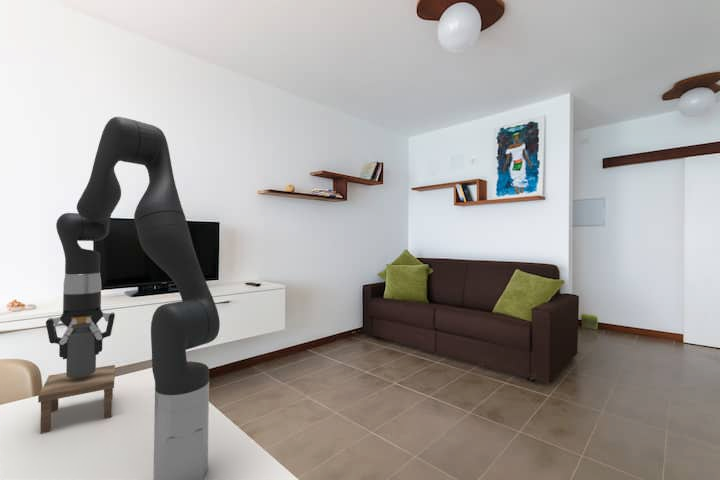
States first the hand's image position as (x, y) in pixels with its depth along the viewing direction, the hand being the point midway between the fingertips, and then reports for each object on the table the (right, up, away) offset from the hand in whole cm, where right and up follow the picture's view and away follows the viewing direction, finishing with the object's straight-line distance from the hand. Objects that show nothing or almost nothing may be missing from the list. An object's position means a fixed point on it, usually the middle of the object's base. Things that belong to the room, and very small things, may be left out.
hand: (81, 355), depth 86 cm
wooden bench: (0, -15, 0) cm, 15 cm away
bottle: (0, -5, 0) cm, 5 cm away
